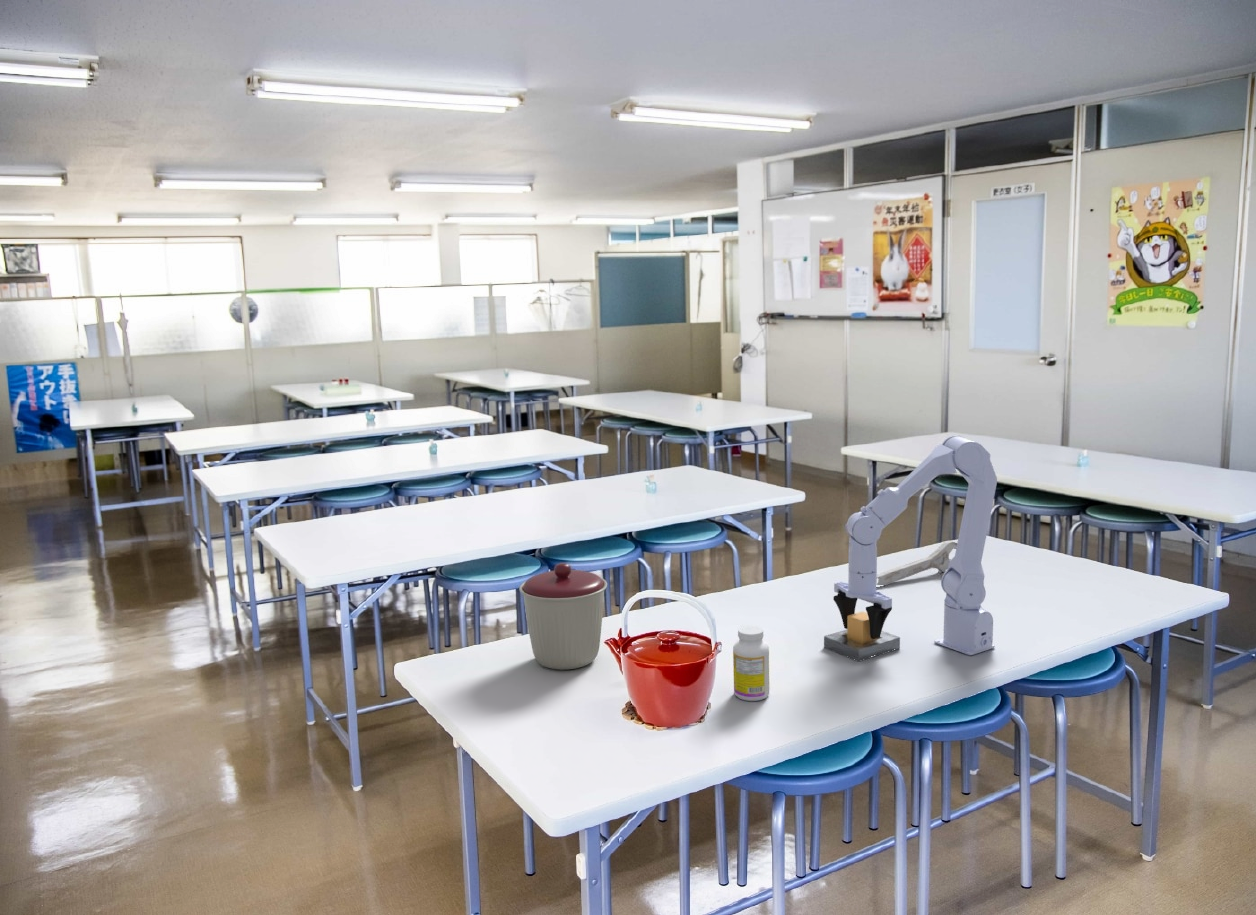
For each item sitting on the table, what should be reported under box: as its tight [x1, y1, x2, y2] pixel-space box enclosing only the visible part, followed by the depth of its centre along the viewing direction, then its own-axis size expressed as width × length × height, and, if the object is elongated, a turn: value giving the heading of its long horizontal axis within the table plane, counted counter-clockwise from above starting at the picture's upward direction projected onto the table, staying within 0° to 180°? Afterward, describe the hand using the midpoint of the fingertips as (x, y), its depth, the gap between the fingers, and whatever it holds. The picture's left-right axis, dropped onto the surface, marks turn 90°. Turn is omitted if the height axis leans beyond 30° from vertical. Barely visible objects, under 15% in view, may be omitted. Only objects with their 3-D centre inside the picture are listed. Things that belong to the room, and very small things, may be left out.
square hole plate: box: [823, 629, 901, 662], centre depth 201 cm, size 10×12×2 cm
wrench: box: [877, 540, 957, 586], centre depth 249 cm, size 8×2×30 cm
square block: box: [846, 611, 878, 644], centre depth 201 cm, size 4×4×7 cm
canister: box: [518, 562, 608, 671], centre depth 198 cm, size 18×18×21 cm
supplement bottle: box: [732, 625, 770, 702], centre depth 179 cm, size 7×7×13 cm
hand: (861, 632), depth 201 cm, fingers open, 7 cm apart
